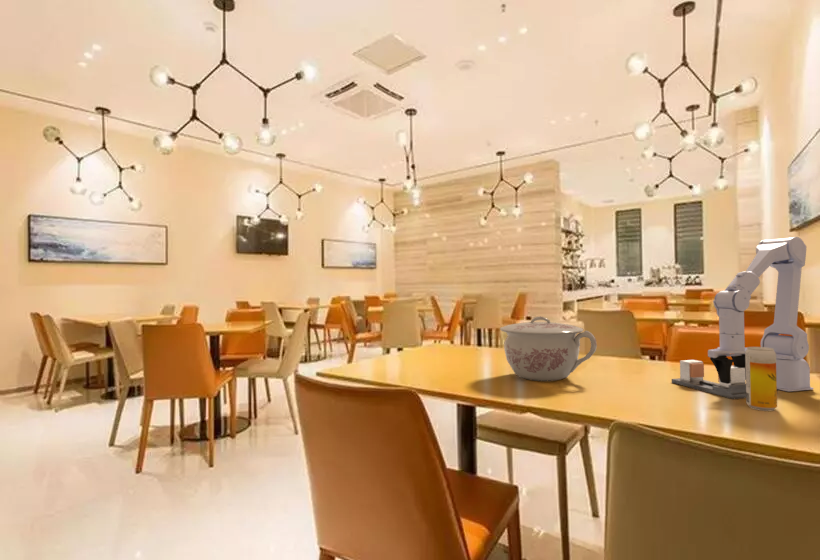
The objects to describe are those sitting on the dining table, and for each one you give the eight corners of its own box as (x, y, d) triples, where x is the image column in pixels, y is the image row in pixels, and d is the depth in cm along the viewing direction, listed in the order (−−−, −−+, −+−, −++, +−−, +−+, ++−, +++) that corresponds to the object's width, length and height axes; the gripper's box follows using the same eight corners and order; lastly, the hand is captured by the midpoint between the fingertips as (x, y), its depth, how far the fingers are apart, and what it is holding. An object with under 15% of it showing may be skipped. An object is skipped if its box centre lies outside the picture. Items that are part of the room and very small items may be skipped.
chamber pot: (486, 372, 162) (485, 315, 163) (552, 367, 171) (551, 312, 171) (529, 390, 136) (528, 321, 136) (604, 382, 144) (603, 317, 144)
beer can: (782, 412, 109) (781, 350, 110) (754, 411, 111) (753, 349, 111) (768, 405, 115) (767, 346, 115) (741, 404, 117) (740, 346, 117)
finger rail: (671, 382, 142) (671, 359, 142) (692, 381, 144) (692, 358, 144) (733, 399, 121) (732, 372, 122) (757, 397, 123) (756, 370, 123)
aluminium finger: (745, 389, 125) (745, 367, 125) (731, 390, 124) (730, 368, 124) (731, 386, 129) (730, 365, 129) (717, 387, 128) (716, 366, 128)
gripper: (739, 330, 132) (740, 377, 131) (698, 332, 128) (699, 380, 128) (763, 333, 125) (764, 382, 125) (720, 335, 121) (721, 386, 121)
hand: (732, 382), depth 126 cm, fingers closed on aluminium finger, 5 cm apart
